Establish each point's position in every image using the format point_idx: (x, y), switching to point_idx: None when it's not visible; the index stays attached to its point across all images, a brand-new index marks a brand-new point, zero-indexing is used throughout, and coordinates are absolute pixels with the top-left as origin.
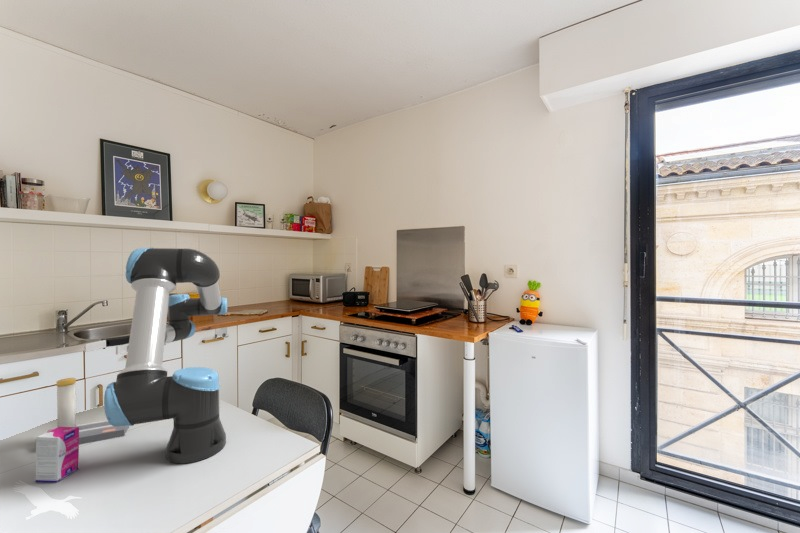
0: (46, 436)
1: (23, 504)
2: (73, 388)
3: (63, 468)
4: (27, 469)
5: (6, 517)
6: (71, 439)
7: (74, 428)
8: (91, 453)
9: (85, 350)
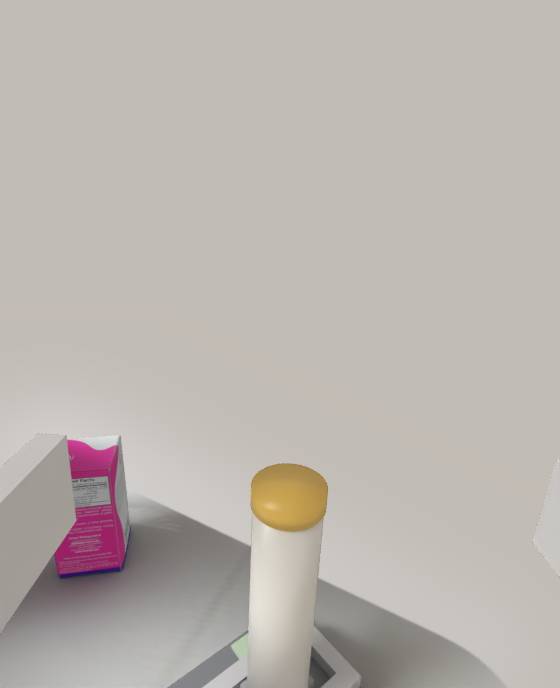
0: (96, 438)
1: None
2: (252, 532)
3: None
4: (206, 558)
5: None
6: None
7: None
8: (77, 651)
9: (543, 526)
